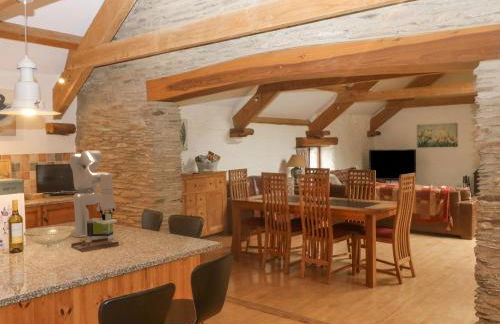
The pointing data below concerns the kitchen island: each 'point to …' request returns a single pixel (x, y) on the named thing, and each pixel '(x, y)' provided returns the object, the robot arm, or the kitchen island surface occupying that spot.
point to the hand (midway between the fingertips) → (107, 219)
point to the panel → (107, 218)
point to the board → (93, 244)
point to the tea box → (99, 230)
